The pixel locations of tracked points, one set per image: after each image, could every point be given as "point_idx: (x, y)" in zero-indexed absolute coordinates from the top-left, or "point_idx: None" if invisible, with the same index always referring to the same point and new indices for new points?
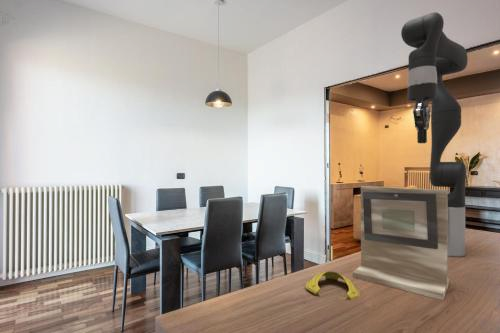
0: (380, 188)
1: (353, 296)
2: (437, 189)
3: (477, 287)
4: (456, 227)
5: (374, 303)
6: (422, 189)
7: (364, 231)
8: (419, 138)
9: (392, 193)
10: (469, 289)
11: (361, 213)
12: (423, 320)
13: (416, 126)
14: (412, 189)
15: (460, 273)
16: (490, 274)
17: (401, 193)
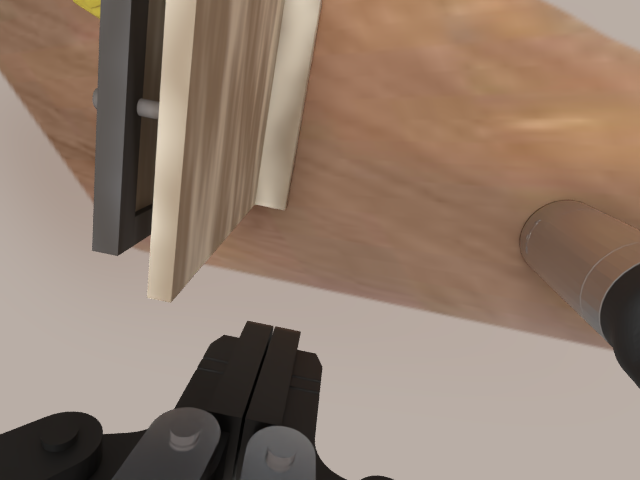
0: (168, 8)
1: (83, 6)
2: (172, 270)
3: (295, 256)
4: (559, 288)
5: (90, 56)
6: (152, 213)
7: None
8: (205, 358)
9: (99, 82)
10: (275, 240)
11: None
12: (81, 147)
13: (36, 435)
14: (156, 172)
15: (374, 239)
16: (397, 296)
17: (98, 123)
